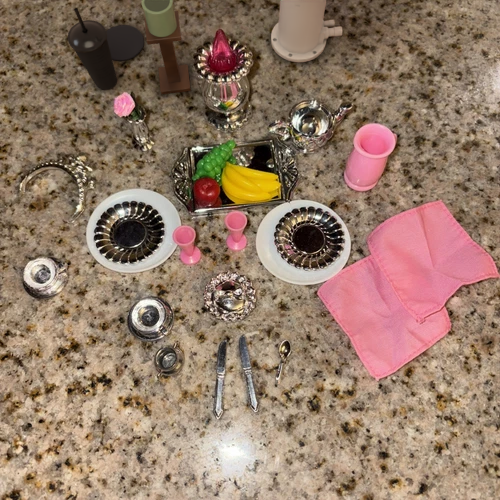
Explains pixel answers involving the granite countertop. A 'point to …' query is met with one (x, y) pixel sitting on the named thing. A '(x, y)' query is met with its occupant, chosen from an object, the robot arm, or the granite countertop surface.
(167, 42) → the stand
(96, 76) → the drinking cup
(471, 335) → the granite countertop surface
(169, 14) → the sage cup
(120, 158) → the granite countertop surface
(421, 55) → the granite countertop surface
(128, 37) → the coaster
